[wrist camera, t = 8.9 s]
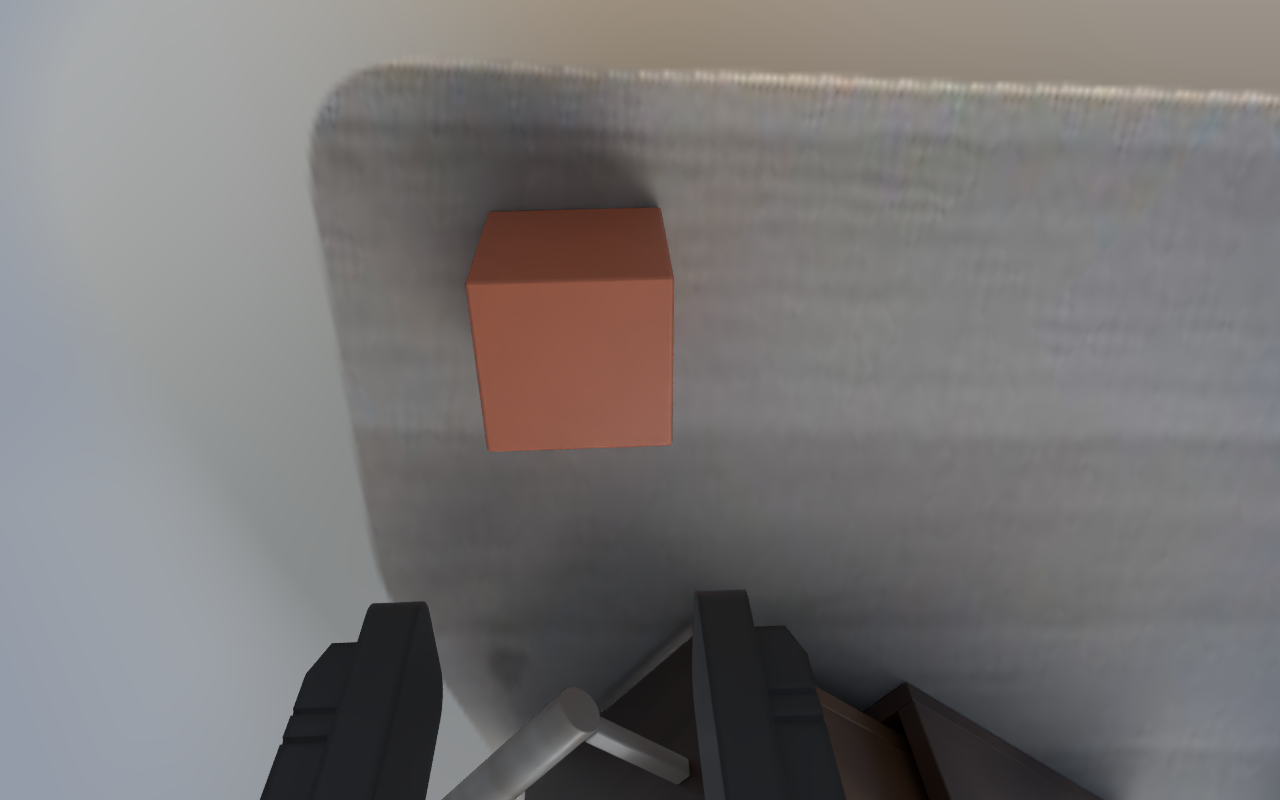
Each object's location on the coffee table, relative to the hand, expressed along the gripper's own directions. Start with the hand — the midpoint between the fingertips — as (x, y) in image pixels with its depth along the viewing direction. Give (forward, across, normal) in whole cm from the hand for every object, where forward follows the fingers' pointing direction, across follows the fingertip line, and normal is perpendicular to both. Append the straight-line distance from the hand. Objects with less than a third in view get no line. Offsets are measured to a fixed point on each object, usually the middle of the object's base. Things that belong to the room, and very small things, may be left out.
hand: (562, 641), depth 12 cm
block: (+12, 0, 0) cm, 12 cm away
